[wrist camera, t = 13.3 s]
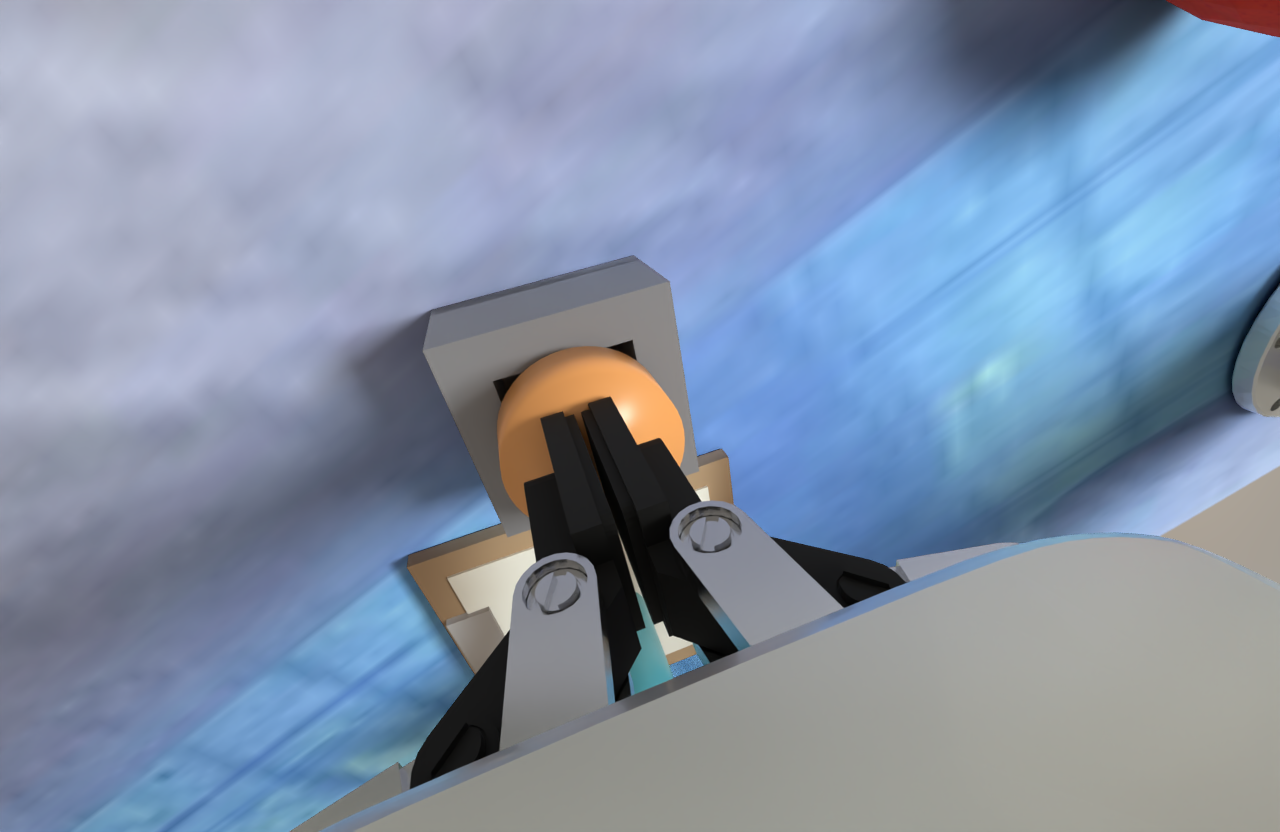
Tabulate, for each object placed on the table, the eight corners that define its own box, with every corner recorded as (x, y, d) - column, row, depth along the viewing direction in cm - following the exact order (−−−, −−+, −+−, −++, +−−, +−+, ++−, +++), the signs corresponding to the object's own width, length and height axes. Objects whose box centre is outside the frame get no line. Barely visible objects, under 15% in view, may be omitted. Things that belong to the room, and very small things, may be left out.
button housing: (633, 255, 15) (669, 281, 12) (665, 421, 18) (699, 471, 15) (431, 309, 14) (422, 351, 11) (501, 474, 17) (507, 537, 15)
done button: (621, 296, 14) (670, 347, 11) (648, 422, 17) (695, 497, 13) (470, 339, 14) (470, 408, 10) (519, 463, 16) (533, 555, 13)
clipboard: (721, 448, 19) (731, 461, 19) (743, 623, 25) (751, 637, 24) (408, 555, 18) (405, 573, 17) (508, 716, 23) (510, 736, 23)
